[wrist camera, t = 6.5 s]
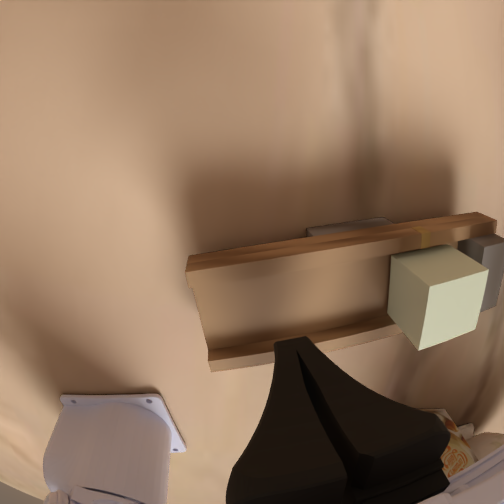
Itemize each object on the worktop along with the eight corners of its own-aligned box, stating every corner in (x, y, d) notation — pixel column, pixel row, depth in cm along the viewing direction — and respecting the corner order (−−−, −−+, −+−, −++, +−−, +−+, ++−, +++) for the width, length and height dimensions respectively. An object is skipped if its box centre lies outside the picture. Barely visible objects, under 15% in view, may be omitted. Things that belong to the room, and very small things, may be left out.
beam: (211, 330, 20) (211, 390, 15) (191, 242, 18) (181, 286, 13) (451, 281, 21) (494, 316, 16) (459, 204, 18) (512, 227, 13)
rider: (387, 312, 17) (418, 350, 13) (391, 255, 15) (429, 286, 12) (440, 298, 17) (474, 329, 13) (447, 244, 16) (488, 269, 12)
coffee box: (446, 406, 27) (511, 507, 12) (414, 442, 29) (465, 540, 14) (390, 406, 25) (460, 541, 10) (356, 446, 27) (405, 570, 12)
